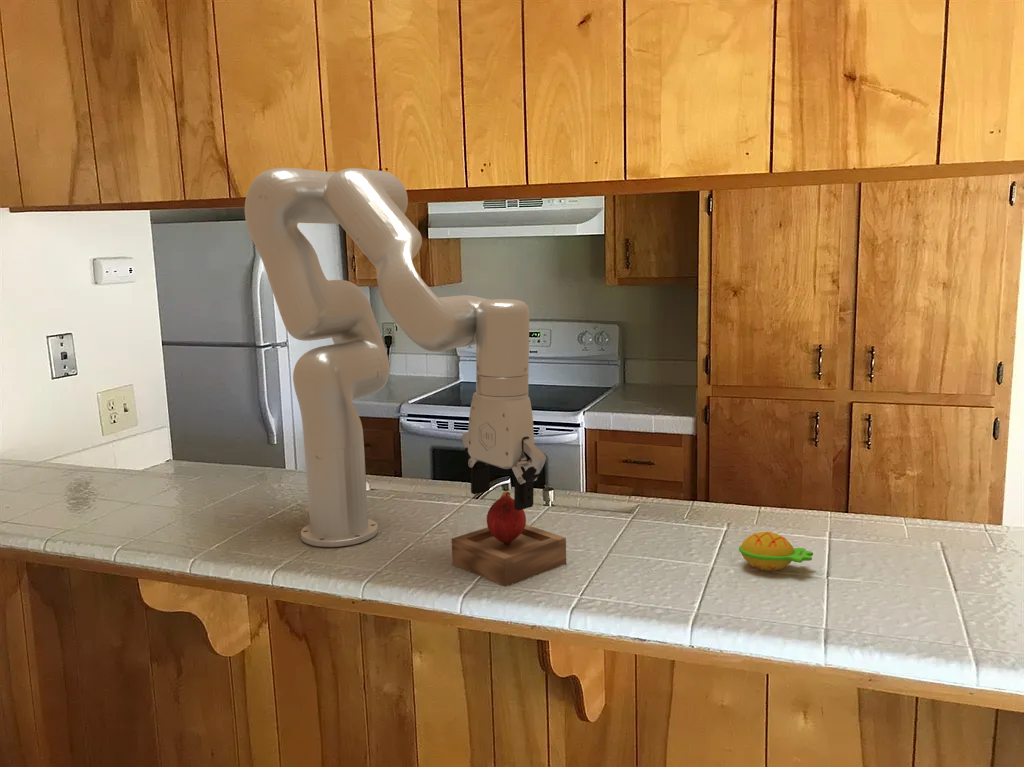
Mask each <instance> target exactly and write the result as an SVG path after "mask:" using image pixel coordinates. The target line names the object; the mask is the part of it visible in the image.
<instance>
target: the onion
mask: <svg viewBox="0 0 1024 767" xmlns="http://www.w3.org/2000/svg"><path fill="white" fill-rule="evenodd" d="M486 525H487V526H486V527H488V529H489V531H490V533H491V534H492V535H493V536H494V537H495V538H496V539H498V540H499V541H501V542H502V543H504V544H510V543H511V542H512V541H513V540H515V539H516V538H517V537H518V536H519V535H520V534H521V533H522V531H523V530H524V528H525V525H527V518H526V513H525V509H522V510H519V511H518V510H516V509H515V508H514V498H513V497H511V492H509V491H507V490H505V491H504V492H502V495H501V496H500V498H498V499H497V500H496V501H494V502H493V503H492V505H491V506H490V508H489V509H488V512H487V514H486Z"/></svg>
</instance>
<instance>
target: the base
mask: <svg viewBox="0 0 1024 767" xmlns="http://www.w3.org/2000/svg"><path fill="white" fill-rule="evenodd" d="M450 542H451V559H452V561H451V562H452V565H453V566H456V567H458V568H460V569H463V570H465V571H468V572H469V573H472V574H475V575H478V576H480V577H482V578H484V579H486V580H489V581H492V582H494V583H496V582H497V584H498V583H499V585H501V586H503V585H504V586H503V587H508V586H511V585H513V584H512V583H514V584H517V583H519V582H521V580H522V581H523V579H524V580H527V579H529V578H532V577H535V576H537V575H539V574H542V573H545V572H547V571H550V570H552V569H556V568H559V567H561V566H564V565H567V537H565V536H563V535H562V536H561V535H559V534H555V533H552V532H549V531H547V530H544V529H540V528H537V527H534V526H532V525H529V524H526V525H525V528H524V530H523V531H522V533H521V534H520V535H519V536H518V537H517V538H516V539H515V540H513V541H512V542H511V543H510V544H504V543H502V542H501V541H499V540H498V539H496V538H495V537H494V536H493V535H492V534H491V533H490V531H489V529H488V526H486V527H483V528H481V529H477V530H475V531H471V532H467V533H465V534H461V535H458V536H455V537H452V538H451V541H450ZM534 575H535V576H534ZM518 581H519V582H518ZM507 585H508V586H507Z"/></svg>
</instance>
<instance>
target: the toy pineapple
mask: <svg viewBox="0 0 1024 767" xmlns="http://www.w3.org/2000/svg"><path fill="white" fill-rule="evenodd" d="M738 551H739V553H740V554H741V556H742V557H743V559H744V560H745V561H746V562H747V563H748V564H749V565H750V566H752V567H753V568H756V569H758V570H762V571H766V572H768V571H769V572H770V571H779V570H782V569H783V568H785V567H788V565H790V564H791V563H792V562H794V563H803V561H804V562H807V561H809V562H810V561H812V560H813V556H814V552H812V551H810V550H806V548H805V547H794V546H793V545H792V543H791V542H790V541H789V540H787V538H786V537H784V536H783V535H780V534H778V533H776V532H772V531H759V532H757V533H756V532H755V533H753V534H751V535H749V536H748V537H746V538H745V539H744V540H743V542H742V543H741V545H739V548H738Z"/></svg>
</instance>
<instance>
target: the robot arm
mask: <svg viewBox="0 0 1024 767" xmlns="http://www.w3.org/2000/svg"><path fill="white" fill-rule="evenodd" d="M247 189H248V190H247V192H246V197H245V200H244V216H245V217H244V218H245V223H246V226H247V230H248V232H249V235H250V238H251V240H252V242H253V245H254V246H255V249H256V250H257V253H258V255H259V257H260V259H261V262H262V263H263V266H264V269H265V272H266V275H267V279H268V282H269V285H270V288H271V290H272V293H273V297H274V300H275V302H276V306H277V308H278V311H279V314H280V318H281V321H282V322H283V324H284V327H285V329H286V332H288V334H289V335H290V336H291V337H292V338H294V339H296V340H298V341H303V342H304V341H305V342H306V341H307V342H308V341H317V340H324V339H325V340H326V339H330V338H331V339H332V342H333V344H328V345H322V346H321V345H320V346H318V347H315V348H312V349H310V350H308V351H306V352H304V354H302V355H301V356H300V357H299V358H298V360H297V361H296V363H295V365H294V368H293V372H292V381H293V382H292V383H293V388H294V391H295V395H296V399H297V402H298V406H299V410H300V415H301V423H302V433H303V445H304V446H303V447H304V458H305V473H306V474H305V475H306V488H307V501H308V502H307V503H308V505H307V506H306V507H304V512H305V513H306V514H307V515H308V518H309V524H307V525H305V526H304V527H303V528H302V529H301V530H300V538H301V541H302V542H304V543H305V544H307V545H309V546H313V547H322V548H335V547H336V548H337V547H345V546H346V547H347V546H353V545H357V544H361V543H363V542H366V541H369V540H370V539H372V538H374V537H375V536H376V535H377V534H378V533H379V525H378V523H377V522H376V521H375V520H374V519H372V518H369V514H368V513H369V512H368V510H369V509H368V494H367V477H366V476H367V475H366V460H365V457H366V456H365V445H364V444H365V441H364V430H363V425H362V421H361V418H360V416H359V414H358V412H357V410H356V408H355V405H354V403H353V400H357V399H360V398H364V397H368V396H371V395H375V394H377V393H378V392H379V391H381V390H382V389H383V388H384V387H385V386H386V384H387V382H388V380H389V377H390V373H391V372H390V371H391V370H390V360H389V356H388V352H387V349H386V346H385V344H384V341H383V337H382V334H381V332H380V328H379V325H378V322H377V320H376V317H375V314H374V311H373V308H372V305H371V303H370V301H369V298H368V297H367V296H366V294H365V292H364V291H363V290H362V289H361V288H360V287H359V286H358V285H356V284H355V283H353V282H351V281H349V280H345V279H327V277H326V276H325V274H324V271H323V269H322V266H321V264H320V261H319V257H318V255H317V252H316V250H315V248H314V247H313V245H312V244H311V242H310V241H309V240H308V238H307V237H306V236H305V235H304V233H302V232H301V230H300V228H298V224H326V225H327V224H329V225H330V224H333V225H334V224H335V225H336V224H338V225H340V226H341V228H342V229H343V230H344V231H345V233H346V234H347V235H348V236H349V237H350V238H351V239H352V241H353V242H354V244H356V246H357V247H358V249H360V251H361V252H362V253H363V254H364V256H365V257H366V258H367V259H368V260H369V262H370V263H371V264H372V265H373V267H374V268H375V270H376V281H377V286H378V291H379V293H380V295H379V296H380V298H381V300H382V303H383V305H384V308H385V309H386V311H387V312H388V313H389V315H390V316H391V318H392V319H393V320H394V322H395V323H396V324H397V325H398V326H399V328H401V330H402V331H403V333H404V334H405V335H406V336H407V337H408V338H409V339H410V340H411V341H412V342H413V343H415V344H416V345H417V346H418V347H419V348H422V349H424V350H426V351H429V352H433V353H437V352H443V351H449V350H453V349H458V348H462V347H463V348H464V347H468V346H469V347H470V346H473V345H475V346H476V347H475V348H476V349H475V353H476V354H475V356H476V357H475V359H476V361H475V363H476V364H475V367H476V369H475V373H476V374H475V375H476V376H475V390H476V391H475V392H473V394H472V397H471V398H472V399H471V403H470V408H469V418H468V429H467V432H465V433H463V434H462V435H461V441H462V443H463V447H464V453H465V455H466V457H467V459H468V462H467V463H468V467H469V468H470V493H471V494H473V495H478V494H482V493H486V492H489V490H490V481H491V480H490V477H491V476H490V472H491V471H490V470H491V469H490V466H494V467H497V468H500V469H503V470H509V469H512V472H513V475H514V476H515V478H516V480H517V482H515V483H514V488H513V489H514V497H513V499H514V508H515V509H516V510H518V511H519V510H522V509H523V510H525V509H526V510H527V509H528V508H529V509H530V508H531V507H534V493H535V492H534V491H535V490H534V485H535V484H534V483H535V481H537V480H538V477H539V476H540V475H541V474H542V472H543V468H544V465H545V463H546V461H547V457H546V456H547V455H545V453H543V452H542V450H541V449H539V448H538V446H536V445H535V434H534V432H535V431H534V418H533V409H532V403H531V399H530V396H529V377H530V376H529V374H530V373H529V371H530V369H529V365H530V360H529V359H530V355H529V354H530V308H529V306H528V305H527V303H526V302H524V300H523V301H522V300H519V299H514V298H513V299H511V298H510V299H509V298H508V299H507V298H495V299H492V298H490V299H489V298H484V297H479V296H475V295H469V294H463V295H462V294H461V295H452V296H443V297H442V296H441V297H438V296H437V295H436V294H435V293H434V292H433V291H432V290H431V288H430V287H429V286H428V285H427V284H426V283H425V281H424V280H423V278H422V277H421V276H420V275H419V273H418V271H417V270H416V266H415V265H414V261H413V259H414V258H415V257H416V256H417V255H418V253H419V252H420V250H421V247H422V244H423V237H422V234H421V232H420V230H418V229H417V227H416V226H415V225H414V224H413V223H412V222H411V221H410V219H409V218H408V217H407V216H406V212H407V209H408V204H409V198H408V192H407V190H406V187H405V185H404V184H403V182H402V181H401V180H400V178H398V177H397V176H395V175H394V174H392V173H391V172H387V171H385V170H377V169H368V168H359V167H358V168H357V167H349V168H348V167H347V168H344V169H341V170H338V171H337V172H336V171H323V170H315V169H308V168H307V169H306V168H305V169H304V168H299V167H298V168H297V167H296V168H294V167H275V168H271V169H267V170H265V171H262V172H260V173H259V174H258V175H257V176H256V177H255V178H253V180H252V181H251V183H250V185H249V187H248V188H247ZM522 468H524V472H523V470H522Z"/></svg>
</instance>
